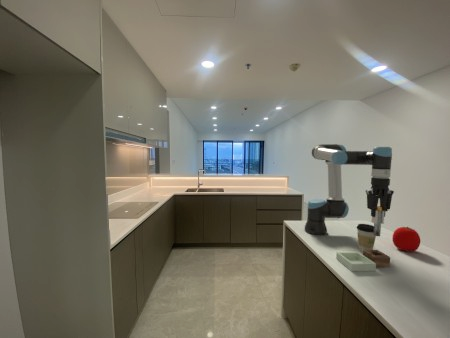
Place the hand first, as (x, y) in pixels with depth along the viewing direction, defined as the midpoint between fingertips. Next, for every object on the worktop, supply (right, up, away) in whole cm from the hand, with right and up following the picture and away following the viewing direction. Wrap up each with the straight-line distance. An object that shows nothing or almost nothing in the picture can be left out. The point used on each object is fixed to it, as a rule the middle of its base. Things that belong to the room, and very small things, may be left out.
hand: (377, 222), depth 102 cm
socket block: (0, -21, +1) cm, 21 cm away
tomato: (+29, -21, +16) cm, 39 cm away
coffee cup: (+4, -21, +14) cm, 25 cm away
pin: (0, -7, 0) cm, 7 cm away
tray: (-12, -21, -1) cm, 24 cm away
